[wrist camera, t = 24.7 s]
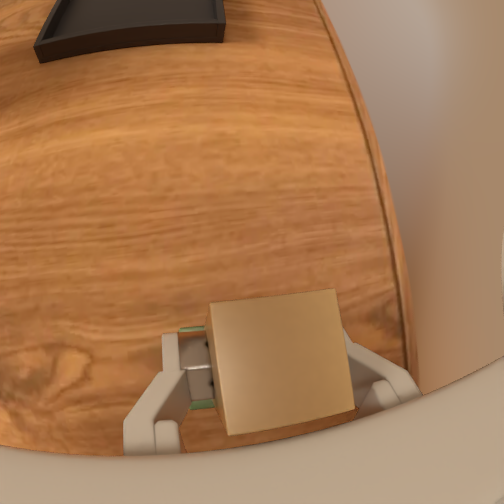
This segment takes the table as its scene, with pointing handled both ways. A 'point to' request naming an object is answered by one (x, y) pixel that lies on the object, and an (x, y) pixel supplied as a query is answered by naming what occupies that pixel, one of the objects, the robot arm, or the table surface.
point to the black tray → (126, 25)
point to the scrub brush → (277, 361)
